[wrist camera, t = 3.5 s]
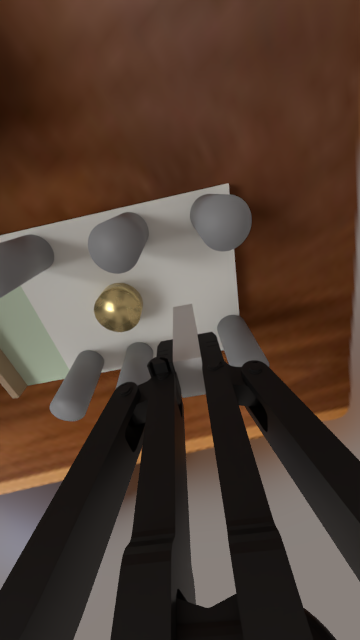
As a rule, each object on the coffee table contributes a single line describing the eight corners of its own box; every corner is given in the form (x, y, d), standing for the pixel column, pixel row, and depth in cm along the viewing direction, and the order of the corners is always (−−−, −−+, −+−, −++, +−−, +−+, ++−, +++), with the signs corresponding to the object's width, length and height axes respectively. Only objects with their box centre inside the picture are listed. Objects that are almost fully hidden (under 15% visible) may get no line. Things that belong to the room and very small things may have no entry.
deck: (26, 380, 30) (-19, 439, 23) (-68, 250, 22) (-186, 279, 14) (243, 340, 28) (269, 390, 21) (232, 182, 20) (268, 176, 13)
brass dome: (108, 324, 25) (103, 335, 23) (93, 287, 23) (86, 296, 21) (147, 317, 25) (145, 327, 23) (136, 278, 22) (133, 286, 21)
